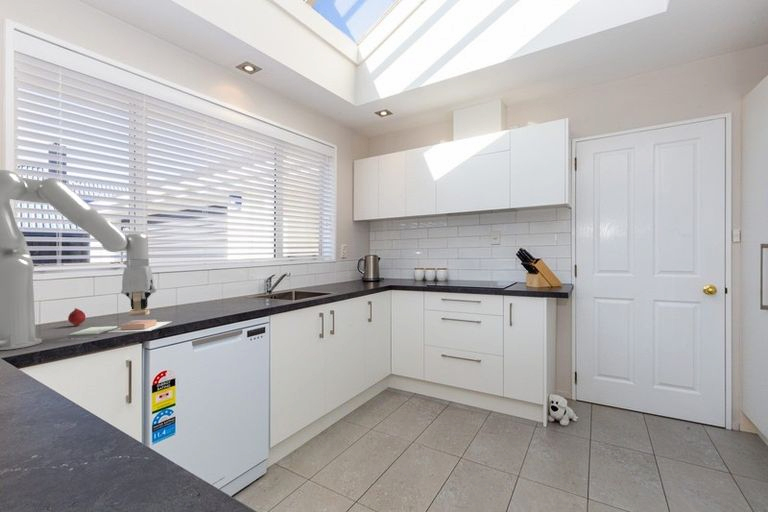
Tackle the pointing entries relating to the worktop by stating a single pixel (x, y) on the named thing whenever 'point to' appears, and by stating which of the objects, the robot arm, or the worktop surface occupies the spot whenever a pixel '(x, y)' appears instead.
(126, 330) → the mat
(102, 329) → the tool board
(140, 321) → the tile
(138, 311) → the wooden block stack
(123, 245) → the robot arm
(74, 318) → the onion
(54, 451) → the worktop surface
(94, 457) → the worktop surface
